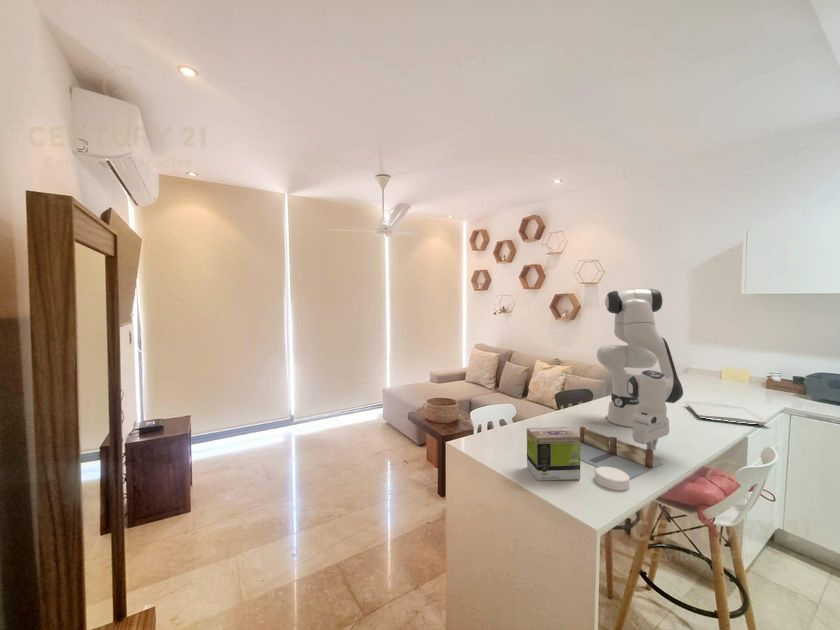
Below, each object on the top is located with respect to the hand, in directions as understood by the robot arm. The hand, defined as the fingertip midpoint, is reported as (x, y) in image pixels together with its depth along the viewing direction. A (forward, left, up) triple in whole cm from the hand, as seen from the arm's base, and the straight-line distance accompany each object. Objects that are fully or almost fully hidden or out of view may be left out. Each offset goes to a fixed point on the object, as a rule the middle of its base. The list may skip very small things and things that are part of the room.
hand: (651, 450), depth 129 cm
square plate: (-90, -7, -4) cm, 90 cm away
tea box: (+42, -12, -4) cm, 44 cm away
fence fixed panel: (+8, -16, -4) cm, 19 cm away
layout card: (+12, -10, -4) cm, 16 cm away
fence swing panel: (+8, -2, -3) cm, 9 cm away
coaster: (+30, +2, -4) cm, 30 cm away
